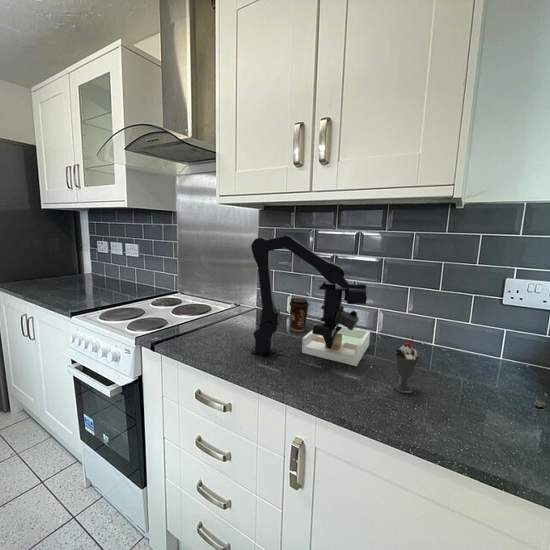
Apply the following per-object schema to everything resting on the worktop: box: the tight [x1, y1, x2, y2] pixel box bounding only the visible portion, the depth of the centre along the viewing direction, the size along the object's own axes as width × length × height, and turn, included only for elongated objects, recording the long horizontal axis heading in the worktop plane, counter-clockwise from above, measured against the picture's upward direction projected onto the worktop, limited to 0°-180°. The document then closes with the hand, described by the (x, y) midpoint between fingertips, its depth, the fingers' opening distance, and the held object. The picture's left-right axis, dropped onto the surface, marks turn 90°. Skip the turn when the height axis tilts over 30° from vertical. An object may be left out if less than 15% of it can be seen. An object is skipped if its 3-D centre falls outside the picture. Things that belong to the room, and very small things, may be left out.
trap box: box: [301, 325, 371, 367], centre depth 108 cm, size 20×19×6 cm
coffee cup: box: [289, 297, 310, 332], centre depth 127 cm, size 9×8×13 cm
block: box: [325, 333, 342, 351], centre depth 103 cm, size 4×4×4 cm
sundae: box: [393, 335, 421, 391], centre depth 81 cm, size 7×7×15 cm
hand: (329, 348), depth 99 cm, fingers closed
